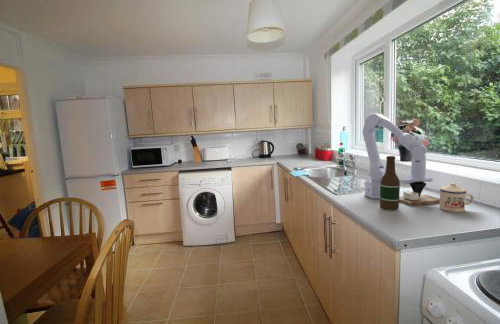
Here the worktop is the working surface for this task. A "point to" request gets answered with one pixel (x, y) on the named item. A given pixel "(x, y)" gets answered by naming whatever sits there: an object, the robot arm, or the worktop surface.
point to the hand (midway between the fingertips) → (416, 196)
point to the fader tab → (411, 195)
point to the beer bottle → (390, 187)
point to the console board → (420, 200)
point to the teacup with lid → (453, 198)
